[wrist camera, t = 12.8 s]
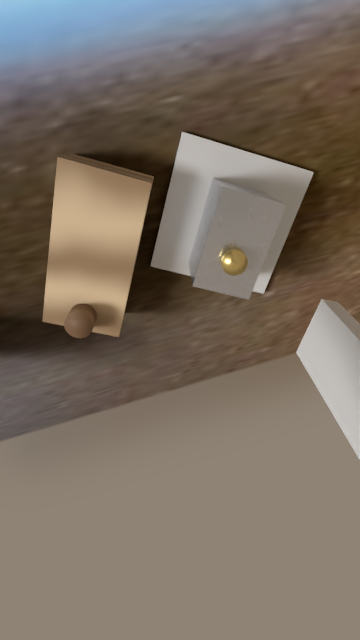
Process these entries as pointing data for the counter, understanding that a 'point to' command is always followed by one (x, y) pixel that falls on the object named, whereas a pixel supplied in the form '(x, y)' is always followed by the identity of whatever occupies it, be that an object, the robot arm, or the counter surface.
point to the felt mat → (192, 191)
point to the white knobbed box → (233, 238)
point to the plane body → (93, 244)
